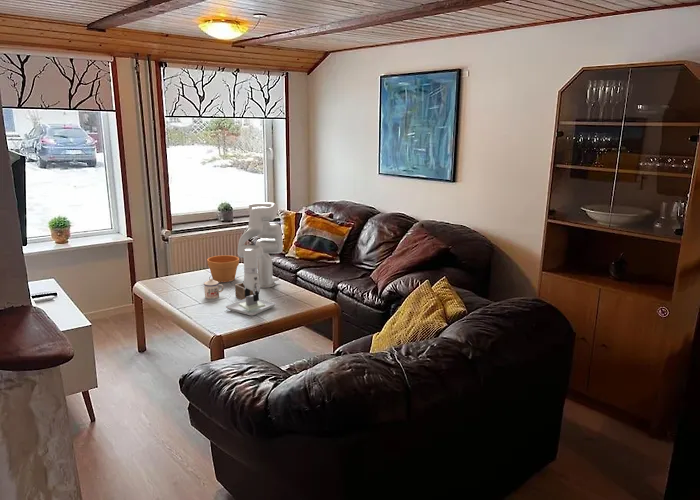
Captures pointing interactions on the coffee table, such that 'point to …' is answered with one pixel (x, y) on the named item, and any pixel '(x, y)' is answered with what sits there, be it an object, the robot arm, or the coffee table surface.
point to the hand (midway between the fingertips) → (251, 298)
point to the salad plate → (239, 309)
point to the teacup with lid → (212, 289)
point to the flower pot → (223, 267)
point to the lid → (251, 304)
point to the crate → (241, 291)
